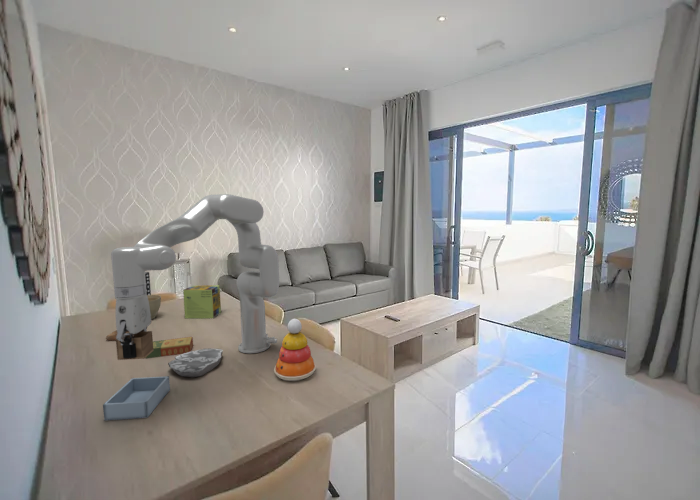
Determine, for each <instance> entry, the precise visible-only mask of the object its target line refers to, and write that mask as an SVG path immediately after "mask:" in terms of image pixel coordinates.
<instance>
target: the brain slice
mask: <svg viewBox="0 0 700 500" xmlns="http://www.w3.org/2000/svg"><path fill="white" fill-rule="evenodd" d="M223 351H224V350H223V349H221V348H202V349H201V348H200V349H197V350H191V352H187V353H184V354H177V355H175V357H174V359H173V360H171V361H169V362H168V364H167V365H168V367H169V368H170V369H171V370H173V371H174V372H175V373H176V374H177V375H179V376H180V377H184V378H185V377H189V378H196V377H197V378H198V377H201V376H202V377H203V376H204V375H205V374H207V373H209V372H210V371H212V370H213V369H215V368H216V367H217V366H218V365H219V364H220V363H221V359H222V356H223Z"/></svg>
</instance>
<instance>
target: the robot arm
mask: <svg viewBox="0 0 700 500" xmlns="http://www.w3.org/2000/svg"><path fill="white" fill-rule="evenodd" d="M264 212H265V211H264V207H263V205H262V204H261V203H260V202H259V201H258V200H256V199H252V198H247V197H242V196H239V195H234V194H226V193H220V194H219V193H218V194H208V195H205V196H203V197H202V198H200V200H199V201H197V202H196V203H195V204H194V205H192V206H191V207H190V208H189V209H188V210H186V211H185V212H184V213H183V214H181V215H180V216H178V217H177V218H175V219H173V220H170V222H167V223H165V224H163V225H162V226H160V227H157V228H156V229H154V230H152V231H151V232H149V233H148V234H146V235H145V236H144V237H143V238H141V239H140V240H139V241H138V242H136V244H134V245H133V246H122V247H117V248H114V249H112V250H111V267H112V268H111V269H112V279H113V291H114V299H116V300H115V328H116V330H117V336H116V339H117V340H119V341H120V342H121V345H122V348H123V358H124V359H126V358H135V357H136V344H135V343H134V334H137V333H139V332H141V331H148V329H147V328H148V327H149V325H151V323H152V319H151V313H150V306H149V301H148V297H147V291H146V279H145V272H149V271H164V270H167V269H170V268H171V267H172V266H173V265H175V262H176V258H177V255H176V252H175V251H174V249H173V248H172V247H174V246H176V245H178V244H182V243H186V242H190V241H193V240H195V239H198V238H199V237H200V236H201V235H203V233H205V232H206V231H207V230H208V229H209V228H210V227H212V225H214V224H215V223H216V222H217V221H219V220H226V221H227V222H228V223H230V224H231V225H232V226H233V227H234V228H235V230H236V233H237V241H238V259H239V264H240V265H241V266H242V267H244V268H247V269H253V270H247V271H243V272H241V273H240V274H239V275H238V277H237V278H236V283H235V284H236V289H237V293H238V298H239V307H240V326H241V327H240V329H241V343H239V344H238V347H237V348H238V351H239V352H241V353H244V354H257V353H261V352H264V351H265V352H266V350H268V349H270V348H271V344H277V343H278V338H277V337H275V336H271V337H270V336H268V333H267V330H266V327H267V326H266V324H267V323H266V305H265V301H264V298H272V297H274V296H275V295H276V294H277V293H278V291H279V289H280V263H279V254H278V252H277V250H276V249H275V247H273V246H272V245H268V244H262V242H261V240H262V239H261V231H260V228H259V226H258V224H257V223H259V222H260V221H261V220H262V218H263V216H264ZM255 270H258V271H255ZM127 331H129V332H130V333H126V332H127ZM126 335H130V339H129V338H128V337H126Z"/></svg>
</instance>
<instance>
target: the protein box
mask: <svg viewBox="0 0 700 500" xmlns="http://www.w3.org/2000/svg"><path fill="white" fill-rule="evenodd" d="M182 292H183V295H182V296H183V310H184V319H189V320H190V319H195V320H196V319H205V320H206V319H210V318H211V319H212V318H213V319H215V318H216V317H218V316H219V315H220V314H222V305H221V304H222V303H221V287H220V285H219V284H218V285H217V284H216V285H215V284H214V285H212V284H211V285H207V284H206V285H205V284H204V285H192V286H188V287H187V288H185V289H183V291H182ZM218 314H219V315H218Z"/></svg>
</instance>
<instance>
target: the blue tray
mask: <svg viewBox="0 0 700 500" xmlns="http://www.w3.org/2000/svg"><path fill="white" fill-rule="evenodd" d="M170 390H171V384H170V376H169V375H167V376H152V377H149V376H147V377H131V378H130V380H129V381H127V382H126V383H125V384H124V385H123V386H122V387H121V388H119V389H118V390H117V391H116V392H115V393H114V394H113V395H112V396H111V397H109V399H107V401H105V402H104V403H103V404H102V411H103V418H104V419H103V421H119V420H134V419H147V418H149V417H150V415H151V414H152V413H153V412H154V410H155V409H156V408H157V406H159V404H160V403H161V402H162V401H163V399H164V398H165V397H166V396H167V395H168V394H169V392H170Z"/></svg>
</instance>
